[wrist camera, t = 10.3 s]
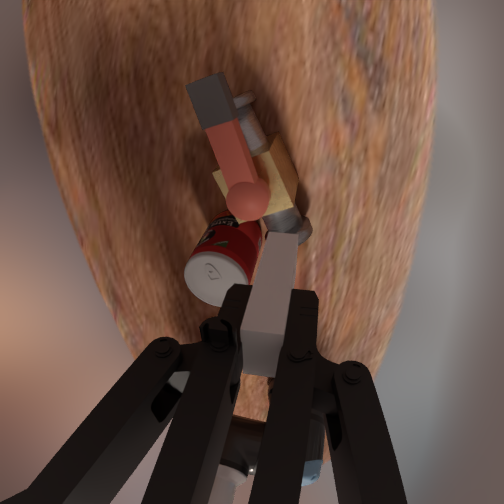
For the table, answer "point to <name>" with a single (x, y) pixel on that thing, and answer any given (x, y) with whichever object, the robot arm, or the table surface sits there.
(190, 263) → the canned food
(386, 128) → the table surface
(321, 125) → the table surface
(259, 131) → the valve pipe
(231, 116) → the lever
